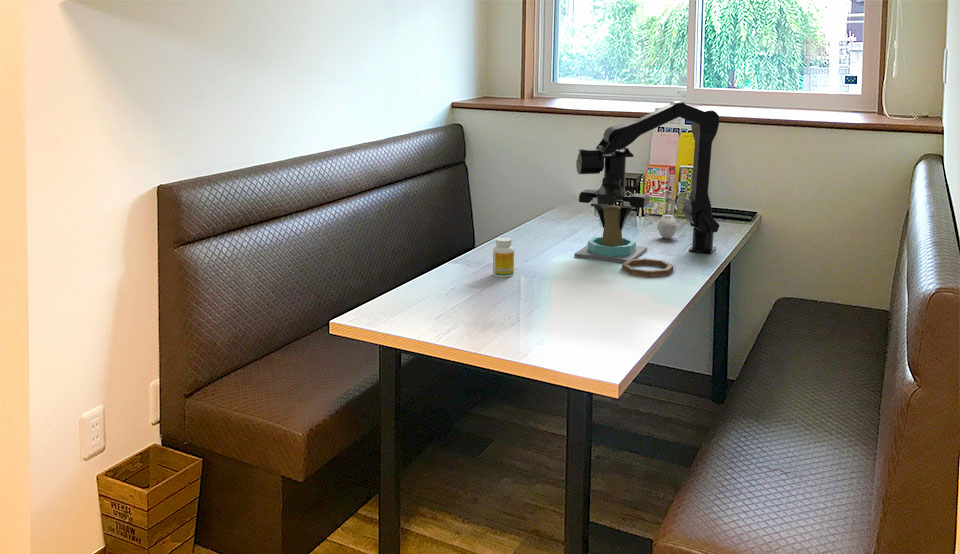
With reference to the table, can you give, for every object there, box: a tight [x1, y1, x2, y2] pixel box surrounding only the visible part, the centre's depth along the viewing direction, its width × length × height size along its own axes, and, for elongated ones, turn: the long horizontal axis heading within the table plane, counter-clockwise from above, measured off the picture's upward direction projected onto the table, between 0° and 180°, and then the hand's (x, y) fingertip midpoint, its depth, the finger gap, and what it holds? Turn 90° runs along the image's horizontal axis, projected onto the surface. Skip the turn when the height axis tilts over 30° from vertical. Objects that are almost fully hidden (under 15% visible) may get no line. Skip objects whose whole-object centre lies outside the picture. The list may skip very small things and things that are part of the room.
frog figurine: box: [656, 214, 679, 240], centre depth 269 cm, size 6×7×7 cm
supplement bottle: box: [492, 237, 515, 279], centre depth 231 cm, size 5×5×10 cm
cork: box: [601, 204, 623, 246], centre depth 250 cm, size 6×6×11 cm
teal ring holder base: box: [573, 236, 648, 264], centre depth 252 cm, size 16×16×4 cm
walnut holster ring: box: [621, 257, 675, 278], centre depth 236 cm, size 12×12×2 cm
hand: (612, 228), depth 251 cm, fingers closed on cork, 4 cm apart
